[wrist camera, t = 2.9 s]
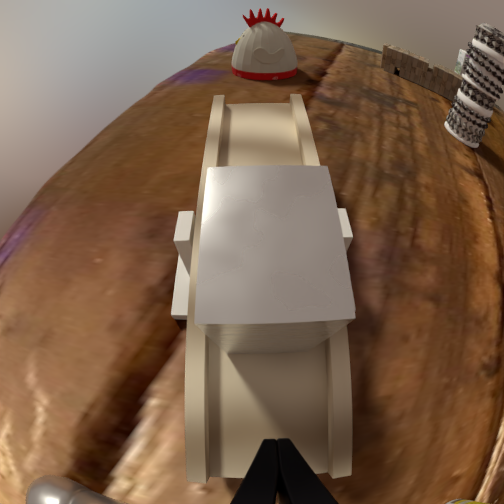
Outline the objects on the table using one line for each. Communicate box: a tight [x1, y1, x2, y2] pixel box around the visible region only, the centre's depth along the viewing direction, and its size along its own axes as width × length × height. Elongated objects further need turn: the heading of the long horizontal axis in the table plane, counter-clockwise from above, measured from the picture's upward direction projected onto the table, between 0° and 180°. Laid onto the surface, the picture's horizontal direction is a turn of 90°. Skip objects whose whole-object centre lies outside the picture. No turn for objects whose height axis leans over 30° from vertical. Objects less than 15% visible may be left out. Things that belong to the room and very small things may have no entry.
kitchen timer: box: [232, 8, 297, 80], centre depth 43 cm, size 14×14×15 cm
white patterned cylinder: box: [444, 23, 504, 148], centre depth 27 cm, size 9×9×25 cm
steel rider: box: [194, 165, 356, 354], centre depth 12 cm, size 6×4×8 cm
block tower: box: [380, 43, 463, 102], centre depth 49 cm, size 8×8×29 cm
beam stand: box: [171, 208, 356, 320], centre depth 20 cm, size 8×14×7 cm, turn 91°
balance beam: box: [185, 94, 352, 483], centre depth 19 cm, size 30×8×6 cm, turn 1°
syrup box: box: [454, 49, 470, 76], centre depth 51 cm, size 6×6×14 cm
